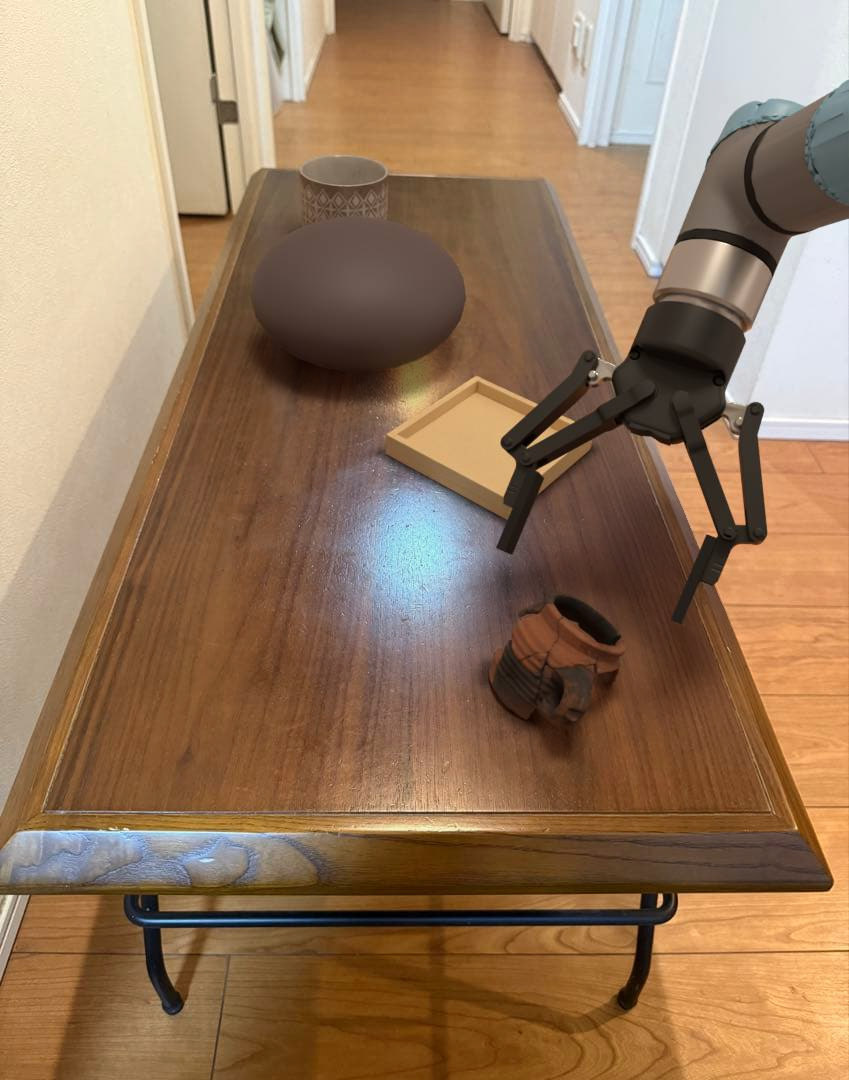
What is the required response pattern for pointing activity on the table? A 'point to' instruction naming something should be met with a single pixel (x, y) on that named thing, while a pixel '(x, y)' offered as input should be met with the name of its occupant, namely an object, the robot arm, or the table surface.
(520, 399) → the wooden tray
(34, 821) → the table surface
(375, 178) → the planter
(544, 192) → the table surface
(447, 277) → the smooth stone
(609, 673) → the pottery mug
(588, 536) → the table surface
